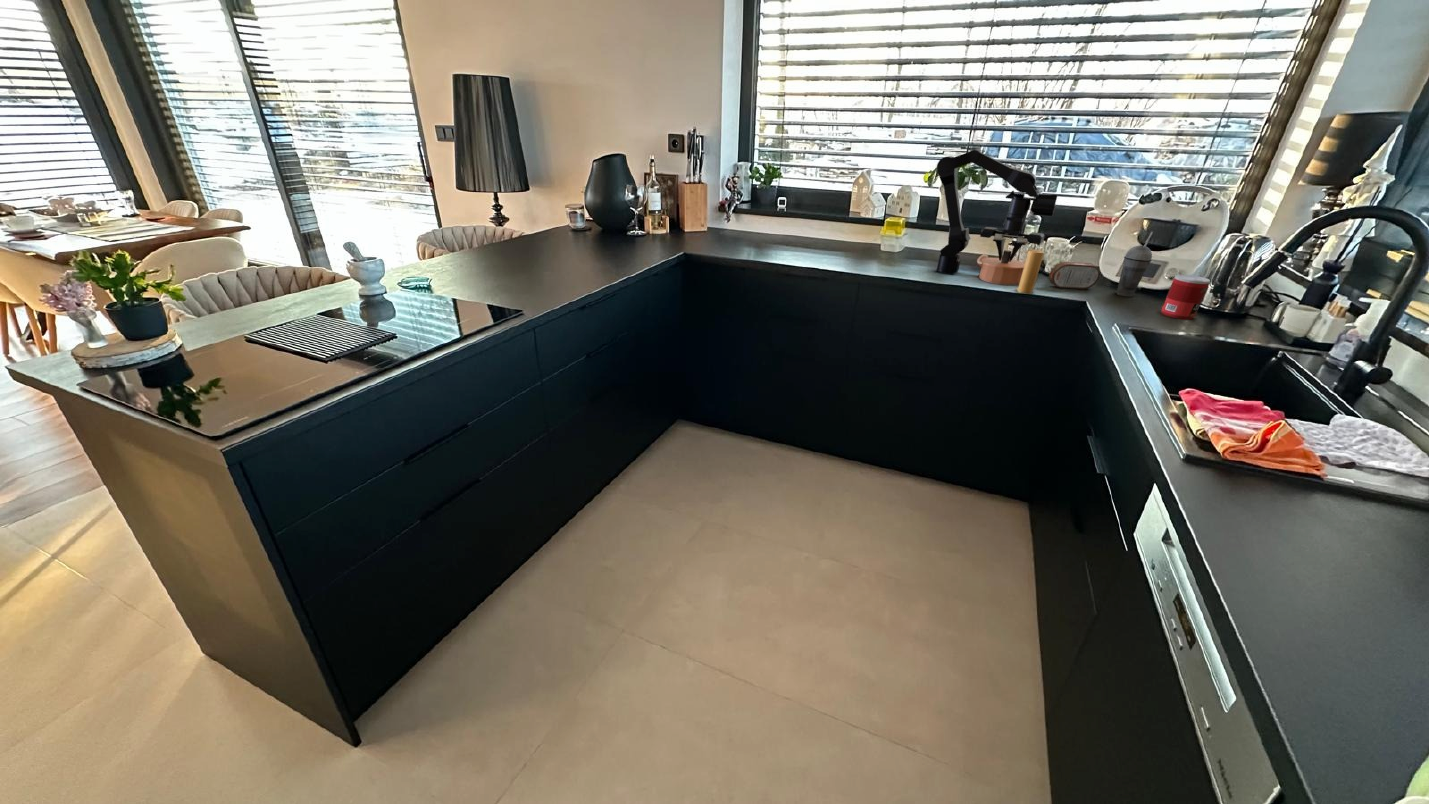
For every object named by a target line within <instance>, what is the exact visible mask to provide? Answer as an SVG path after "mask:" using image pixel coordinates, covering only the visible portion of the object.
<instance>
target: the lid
mask: <svg viewBox="0 0 1429 804" xmlns="http://www.w3.org/2000/svg"><path fill="white" fill-rule="evenodd" d="M1012 251H1013V250H1011V249H1003V256H1002V259H1001V261H1000V260H999V257H993V258H985V259H982V263H984V264H986V265H989V266H993V267H998V268H1005V269H1024V265H1025V261H1022V260H1017V259H1014V258H1013V259H1012V261H1011V262H1009V260H1010V256H1011V253H1012Z"/></svg>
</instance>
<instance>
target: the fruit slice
mask: <svg viewBox="0 0 1429 804" xmlns="http://www.w3.org/2000/svg"><path fill="white" fill-rule="evenodd" d="M985 258H994V257H993V256H990V255H988V254H987V253H982V254H981V255H980V256H979V257H978V258H977V259H976V263H977V265H978V266H979V267H980V268H981V267H982V259H985Z"/></svg>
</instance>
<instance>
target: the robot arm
mask: <svg viewBox="0 0 1429 804" xmlns="http://www.w3.org/2000/svg"><path fill="white" fill-rule="evenodd" d="M970 164H974V165H975V166H977V167H980V168H982V169H984V170H986V171H988V172H989V173H992V174H994V175H995V176H997V177H999V178H1000V179H1003V180H1004V181H1005V182H1007V183H1008V185H1009V186H1011V187H1012V188H1014V189H1015V190H1016V191H1017V192H1019V193H1017V192H1015V190H1012V191H1011V192H1010V193H1009V194H1007V195H1005V199H1007V200H1008V199H1010V204H1009V208H1008V211H1007V215H1006V217H1005V219H1004V222H1003V224H1002V227H1003V230H998V227H994V226H993V227H992V226H986V227H984V228H982V229H981V231H980V235H979V237H980V238H986V239H990V238H992V237H993V239H992V242H995V245H996V249H997V253H998V255H997V256H998V258H999V260H1000V261H1001V259H1002V256H1003V252H1004V250H1005V242H1006V240H1007V239H1015V240H1017V241H1016V242H1015V243H1014V244H1013V248H1012V250H1011V251H1012V252H1011V256H1010V260H1009V262H1011V261H1012V259H1013V260H1014V258H1015V257H1016V254H1017V253H1018V252H1019V250H1020V249H1021V248H1022V246H1026V245H1027V244H1033V245H1041V244H1042V243H1043V242H1044V240H1045V234H1044V233H1043V232H1035V231H1032V232H1030V233H1025V231H1026V228H1027V222H1026V221H1027V217H1028V213H1029V212H1031V213H1033V214H1032V216H1040V217H1051V218H1052V217H1053V216H1054V212H1055V210H1056V206H1057V204H1056V203H1057V199H1058V197H1059V196H1058V195H1059V194H1058V193H1050V194H1049V193H1040V190H1039V189H1038V187H1037V185H1036V184H1037V177H1036V175H1035V174H1034V173H1033V172H1029V171H1026V170H1023V169H1020V168H1019V169H1018V168H1014V167H1011V166H1009V165H1007V164H1006V163H1003V162H1002V161H1000V160H997V159H995V158H994V157H992V156H989V155H988V154H986V153H984V152H982V151H981V150H979V149H972V150H970V151H969V152H965V153H962V154H959V155H957V156H952V155H950V156H949V155H948V156H944V157H942V158H941V159H939V161H938V162H937V164H936V171H937V174H938V177H939V179H940V182H941V184H942V186H943V189H944V190H943V191H944V198H945V204H946V205H945V206H946V211H947V218H948V225H949V230H948V238H947V239H948V240H947V244H946V245H944V246H943V247H942V248H941V249H940V250H939V251H940V252H939V257H938V262H937V266H936V269H935V270H934V272H935V273H940V274H946V275H954V274H956V273H958V272H959V271H960V270H959V269H960V264H961V259H960V258H961V255H960V253H961V252H963V251H964V250H965V249H966V248H967V247H968V245H969V243H970V240H971V239H972V238H971V236H970V228H969V227H966V228H965V226H964V224H963V219H962V212H961V206H960V205H961V204H960V197H959V191H958V185H957V184H958V183H957V181H958V175H959V174H958V173H959V168H961V167H964V166H967V165H970ZM1025 194H1026V195H1027V196H1025ZM1031 202H1032V203H1031ZM1029 210H1030V211H1029Z"/></svg>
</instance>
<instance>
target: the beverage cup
mask: <svg viewBox="0 0 1429 804" xmlns="http://www.w3.org/2000/svg"><path fill="white" fill-rule="evenodd" d="M1153 234H1154V231H1150V234H1149V235H1148V237H1147V239H1146V241H1145V244H1144V245H1135V246H1133V247H1131V248H1130V249H1128V250H1127V252H1126V253H1125V254H1124V256H1123V262H1122V267H1121V268H1122V269H1121V273H1120V276H1119V281H1118V285H1117V290H1116V295H1118V296H1121V297H1130V298H1131V297H1133V296H1134V294H1135V292H1136V291H1137V289H1138V287H1139V285H1140V283H1141V281H1142V278H1143V277H1144V274H1145V272H1146V270H1147V268H1148V267H1149V266H1150V263H1151V262H1152V260H1153V259H1152V258H1153V253H1152V252H1153V251H1152V250H1151V249H1150V248H1149V247H1148V246H1147V245H1148V243H1149V241H1150V239H1151V237H1152V235H1153Z"/></svg>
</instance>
